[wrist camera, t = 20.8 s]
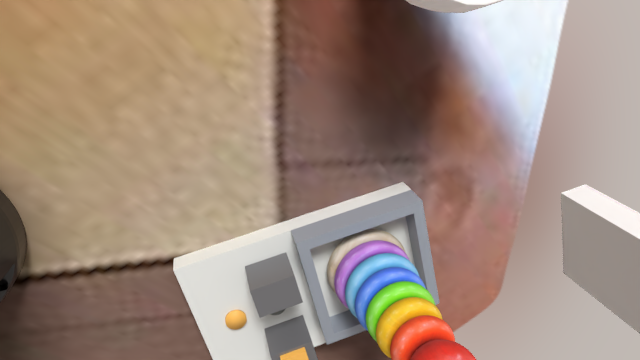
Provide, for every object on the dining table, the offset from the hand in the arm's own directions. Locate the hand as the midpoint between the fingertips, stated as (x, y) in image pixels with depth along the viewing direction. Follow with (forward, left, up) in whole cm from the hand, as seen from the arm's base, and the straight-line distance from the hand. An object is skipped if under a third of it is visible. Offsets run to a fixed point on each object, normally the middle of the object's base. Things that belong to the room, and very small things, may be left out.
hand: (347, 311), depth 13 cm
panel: (+1, -21, -32) cm, 38 cm away
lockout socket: (+6, -20, -30) cm, 36 cm away
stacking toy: (+6, -20, -30) cm, 37 cm away
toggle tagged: (-3, -25, -30) cm, 39 cm away
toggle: (-2, -17, -30) cm, 34 cm away
